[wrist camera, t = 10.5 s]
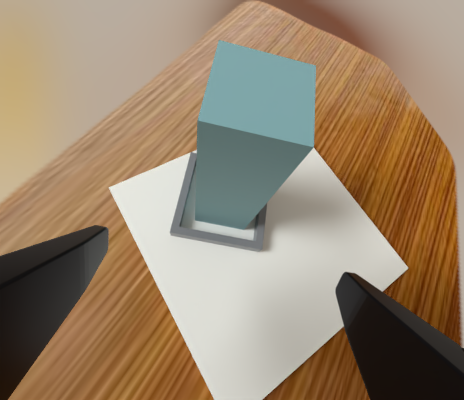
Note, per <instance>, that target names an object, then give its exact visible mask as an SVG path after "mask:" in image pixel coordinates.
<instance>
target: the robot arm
mask: <svg viewBox="0 0 464 400" xmlns="http://www.w3.org/2000/svg"><path fill="white" fill-rule="evenodd" d="M107 250H108V228H107V227H103V226H98V225H94V226H91V227H88V228H85V229H82V230H79V231H76V232H73V233H70V234H67V235H64V236H60V237H57V238H54V239H51V240H48V241H45V242H42V243H39V244H36V245H33V246H30V247H27V248H24V249H20V250H17V251H14V252H11V253H8V254H5V255H2V256H0V400H8V398H9V397H10V396H11V394H12V393H13V391H14V390H15V389H16V387H17V386H18V384H19V383H20V382H21V380H22V379H23V377H24V376H25V375H26V373H27V372H28V370H29V369H30V368H31V366H32V365H33V363H34V362H35V361H36V359H37V358H38V356H39V355H40V354H41V352H42V351H43V349H44V348H45V347H46V345H47V344H48V342H49V341H50V340H51V338H52V337H53V335H54V334H55V332H56V331H57V330H58V328H59V327H60V325H61V324H62V323H63V321H64V320H65V318H66V317H67V316H68V314H69V313H70V311H71V310H72V309H73V307H74V306H75V304H76V303H77V302H78V300H79V299H80V297H81V296H82V294H83V293H84V291H85V290H86V288H87V287H88V285H89V283H90V281H91V280H92V278H93V276H94V274H95V272H96V271H97V269H98V267H99V265H100V264H101V262H102V260H103V258H104V256H105V255H106V253H107ZM335 294H336V298H337V301H338V305H339V309H340V313H341V317H342V321H343V324H344V328H345V331H346V334H347V337H348V340H349V343H350V346H351V348H352V351H353V354H354V357H355V359H356V362H357V365H358V367H359V370H360V373H361V376H362V378H363V381H364V384H365V387H366V389H367V392H368V395H369V398H370V400H464V348H461V347H460V345H458V344H457V343H455V342H454V341H453V340H451V339H450V338H448V337H447V336H445V335H444V334H442V333H441V332H440V331H438V330H437V329H435V328H434V327H432V326H431V325H429V324H428V323H427V322H425V321H424V320H422V319H421V318H419V317H418V316H417V315H415V314H414V313H412V312H411V311H409V310H408V309H406V308H405V307H404V306H402V305H401V304H399V303H398V302H396V301H395V300H394V299H392V298H391V297H389V296H388V295H386V294H385V293H383V292H382V291H381V290H379V289H378V288H376V287H375V286H373V285H372V284H370V283H369V282H368V281H366V280H365V279H363V278H362V277H360V276H359V275H358V274H356V273H351V272H344V273H343V274H342V276H341V278H340V280H339V282H338V284H337V286H336V289H335Z"/></svg>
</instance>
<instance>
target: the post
mask: <svg viewBox="0 0 464 400" xmlns="http://www.w3.org/2000/svg"><path fill="white" fill-rule="evenodd" d="M315 78H316V66H315V65H311V64H308V63H304V62H300V61H296V60H292V59H289V58H285V57H281V56H277V55H273V54H270V53H266V52H262V51H258V50H255V49H251V48H247V47H243V46H239V45H236V44H232V43H228V42H224V41H220V40H219V42H218V46H217V49H216V53H215V57H214V61H213V64H212V68H211V72H210V76H209V79H208V83H207V87H206V91H205V95H204V98H203V102H202V106H201V110H200V113H199V117H198V125H197V160H196V195H195V221H200V222H205V223H211V224H216V225H221V226H226V227H231V228H236V229H242V230H244V229H245V228H246V227H247V226H248V224H249V223H250V222H251V221H252V220H253V218H254V217H255V216H256V215H257V214H258V213H259V211H260V210H261V209H262V208H263V207H264V206H265V204H266V203H267V202H268V201H269V200H270V198H271V197H272V196H273V195H274V194H275V193H276V191H277V190H278V189H279V188H280V187H281V186H282V184H283V183H284V182H285V181H286V180H287V178H288V177H289V176H290V175H291V174H292V173H293V171H294V170H295V169H296V168H297V167H298V165H299V164H300V163H301V162H302V161H303V160H304V158H305V157H306V156H307V155H308V154H309V153H310V151H311V150H312V149H313V148H314V121H315Z"/></svg>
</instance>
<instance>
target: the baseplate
mask: <svg viewBox="0 0 464 400" xmlns="http://www.w3.org/2000/svg"><path fill="white" fill-rule="evenodd" d="M193 153H197V150H195V151H193ZM190 154H191V153H188V154H186V155H184V156H181V157H179V158H177V159H174V160H172V161H170V162H167V163H165V164H163V165H161V166H158V167H156V168H154V169H151V170H149V171H147V172H144V173H142V174H140V175H137V176H135V177H133V178H130V179H128V180H126V181H123V182H121V183H119V184H116V185H114V186H112V187H109V189H110V191H111V193H112V195H113V197H114V199H115V201H116V203H117V205H118V207H119V209H120V211H121V213H122V215H123V217H124V219H125V221H126V223H127V225H128V227H129V229H130V231H131V233H132V235H133V237H134V239H135V241H136V243H137V245H138V247H139V249H140V251H141V253H142V255H143V257H144V259H145V261H146V263H147V265H148V267H149V270H150V272H151V274H152V276H153V278H154V280H155V282H156V284H157V286H158V288H159V290H160V292H161V294H162V296H163V298H164V300H165V302H166V304H167V306H168V308H169V310H170V312H171V314H172V316H173V318H174V320H175V322H176V324H177V326H178V328H179V330H180V332H181V334H182V336H183V338H184V340H185V342H186V344H187V346H188V348H189V350H190V352H191V354H192V356H193V358H194V360H195V362H196V364H197V366H198V368H199V370H200V372H201V374H202V376H203V378H204V380H205V382H206V384H207V386H208V388H209V390H210V392H211V394H212V396H213V398H214V400H262V399H263V398H265V397H266V396H267V395H268V394H269V393H270V392H271V391H272V390H273V389H275V388H276V387H277V386H278V385H279V384H280V383H281V382H282V381H283V380H285V379H286V378H287V377H288V376H289V375H290V374H291V373H292V372H293V371H295V370H296V369H297V368H298V367H299V366H300V365H301V364H302V363H304V362H305V361H306V360H307V359H308V358H309V357H310V356H311V355H312V354H314V353H315V352H316V351H317V350H318V349H319V348H320V347H321V346H322V345H324V344H325V343H326V342H327V341H328V340H329V339H330V338H331V337H332V336H334V335H335V334H336V333H337V332H338V331H339V330H340V329H341V328H342V327H344V324H343V321H342V317H341V313H340V309H339V305H338V301H337V298H336V294H335V289H336V286H337V284H338V282H339V280H340V278H341V276H342V274H343V273H344V272H351V273H356V274H358V275H359V276H360V277H362V278H363V279H365V280H366V281H368V282H369V283H370V284H372V285H373V286H375V287H376V288H378V289H379V290H381V291H382V292H383V291H384V290H385V289H386V288H387V287H388V286H389V285H390V284H391V283H393V282H394V281H395V280H396V279H397V278H398V277H399V276H400V275H401V274H403V273H404V272H405V271H406V270H407V269H408V267H407V266H406V264H405V263H404V262H403V261H402V259H401V258H400V257H399V256H398V254H397V253H396V252H395V250H394V249H393V248H392V247H391V245H390V244H389V243H388V242H387V240H386V239H385V238H384V236H383V235H382V234H381V233H380V231H379V230H378V229H377V228H376V226H375V225H374V224H373V222H372V221H371V220H370V219H369V217H368V216H367V215H366V214H365V212H364V211H363V210H362V208H361V207H360V206H359V205H358V203H357V202H356V201H355V200H354V198H353V197H352V196H351V194H350V193H349V192H348V191H347V189H346V188H345V187H344V186H343V184H342V183H341V182H340V180H339V179H338V178H337V177H336V175H335V174H334V173H333V172H332V170H331V169H330V168H329V166H328V165H327V164H326V163H325V161H324V160H323V159H322V158H321V156H320V155H319V154H318V152H317V151H316V150H315V149H314V148H313V149H312V150H311V151H310V153H309V154H308V155H307V156H306V157H305V158H304V160H303V161H302V162H301V163H300V164H299V165H298V167H297V168H296V169H295V170H294V171H293V173H292V174H291V175H290V176H289V177H288V178H287V180H286V181H285V182H284V183H283V184H282V186H281V187H280V188H279V189H278V190H277V191H276V193H275V194H274V195H273V196H272V197H271V198H270V200H269V201H268V202H267V210H266V220H265V229H264V239H263V248H262V250H261V251H259V252H256V251H250V250H245V249H240V248H234V247H229V246H224V245H218V244H213V243H208V242H202V241H197V240H192V239H186V238H181V237H176V236H171V234H170V229H171V225H172V222H173V218H174V214H175V210H176V206H177V203H178V199H179V195H180V191H181V188H182V184H183V180H184V176H185V172H186V169H187V165H188V161H189V157H190ZM195 195H196V167H195V171H194V175H193V179H192V183H191V187H190V191H189V195H188V199H187V203H186V207H185V211H184V215H183V219H182V223H181V227H184V228H189V229H194V230H200V231H205V232H210V233H215V234H220V235H226V236H231V237H236V238H241V239H247V240H252V241H253V237H254V229H255V221H256V216H255V217H254V218H253V220H252V221H251V222H250V223H249V224H248V226H247V227H246V228H245V229H244V230H242V229H236V228H231V227H226V226H221V225H216V224H211V223H205V222H200V221H195Z"/></svg>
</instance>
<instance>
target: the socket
mask: <svg viewBox="0 0 464 400" xmlns="http://www.w3.org/2000/svg"><path fill="white" fill-rule="evenodd" d="M196 160H197V153H193V152H191V154H190V157H189V161H188V165H187V169H186V172H185V176H184V180H183V184H182V188H181V191H180V195H179V199H178V203H177V206H176V210H175V214H174V218H173V222H172V225H171V229H170V234H171V236H176V237H181V238H186V239H192V240H197V241H202V242H208V243H213V244H218V245H224V246H229V247H234V248H240V249H245V250H250V251H256V252H259V251H261V250H262V248H263V239H264V229H265V220H266V210H267V203H266V204H265V206H264V207H263V208H262V209H261V210H260V211H259V213H258V214H257V215H256V221H255V229H254V237H253V241H252V240H247V239H241V238H236V237H231V236H226V235H220V234H215V233H210V232H205V231H200V230H194V229H189V228H184V227H181V223H182V219H183V215H184V211H185V207H186V203H187V199H188V195H189V191H190V187H191V183H192V179H193V175H194V171H195V167H196Z"/></svg>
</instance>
